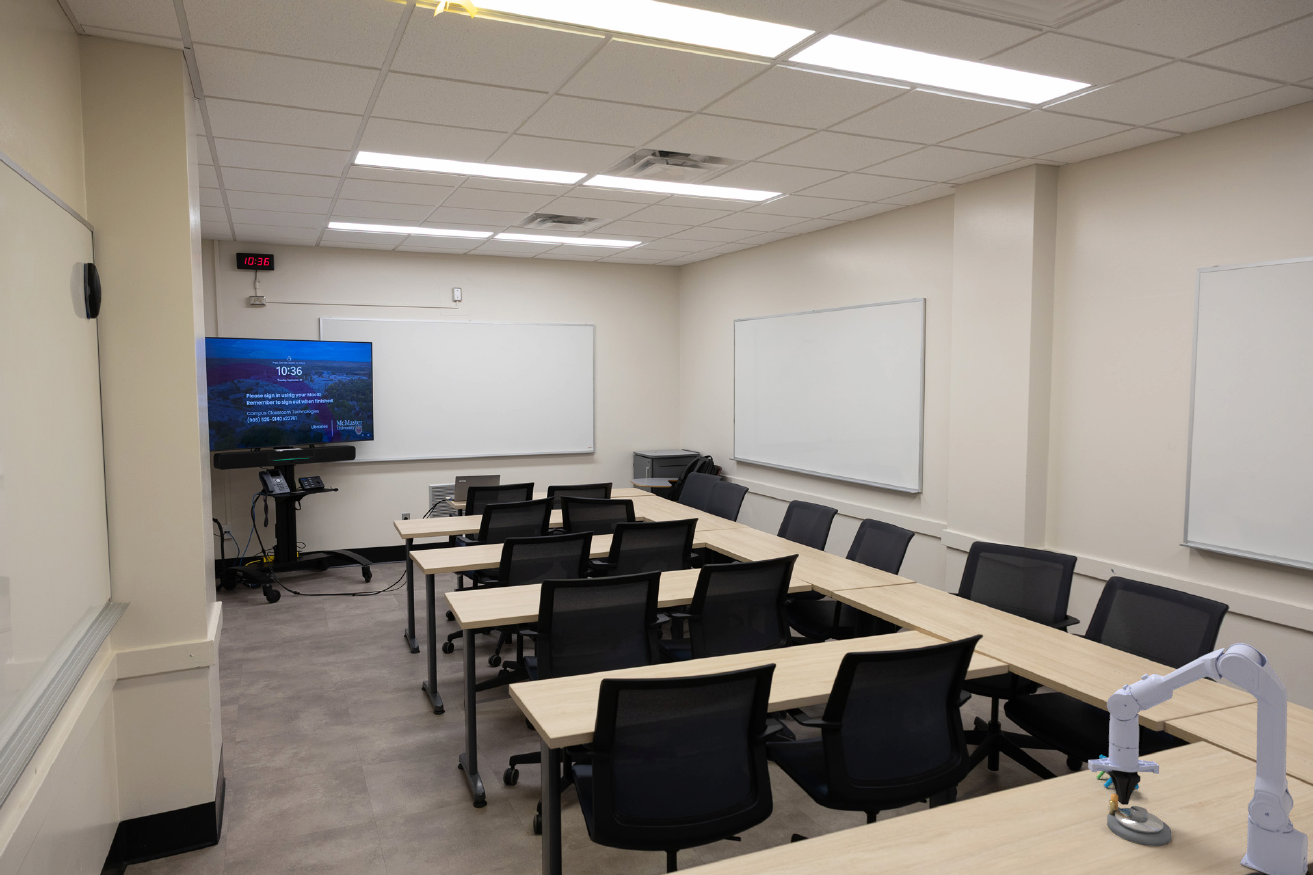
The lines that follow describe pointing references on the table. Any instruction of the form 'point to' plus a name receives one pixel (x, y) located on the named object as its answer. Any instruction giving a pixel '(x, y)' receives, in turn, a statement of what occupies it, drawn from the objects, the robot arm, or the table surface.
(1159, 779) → the table surface
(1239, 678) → the robot arm
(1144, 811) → the flange
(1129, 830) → the post base
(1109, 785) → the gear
